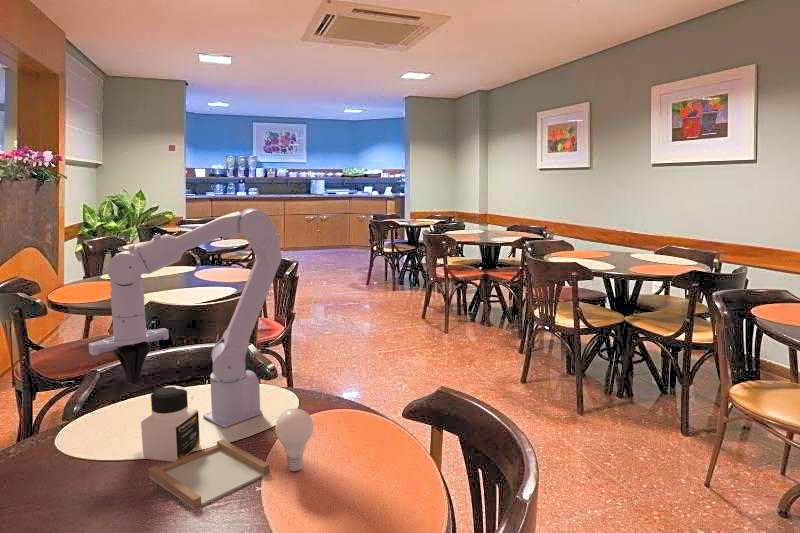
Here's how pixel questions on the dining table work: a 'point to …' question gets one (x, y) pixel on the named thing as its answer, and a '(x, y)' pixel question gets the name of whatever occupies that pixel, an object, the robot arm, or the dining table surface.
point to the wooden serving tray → (209, 473)
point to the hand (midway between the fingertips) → (133, 381)
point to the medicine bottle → (170, 426)
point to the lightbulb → (294, 435)
